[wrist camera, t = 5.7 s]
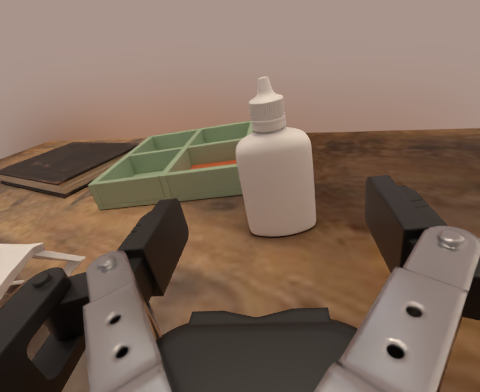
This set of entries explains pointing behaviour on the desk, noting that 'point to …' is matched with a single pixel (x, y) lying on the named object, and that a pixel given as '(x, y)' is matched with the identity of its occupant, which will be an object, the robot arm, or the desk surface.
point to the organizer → (174, 168)
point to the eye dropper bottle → (275, 169)
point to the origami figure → (18, 255)
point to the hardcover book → (65, 167)
